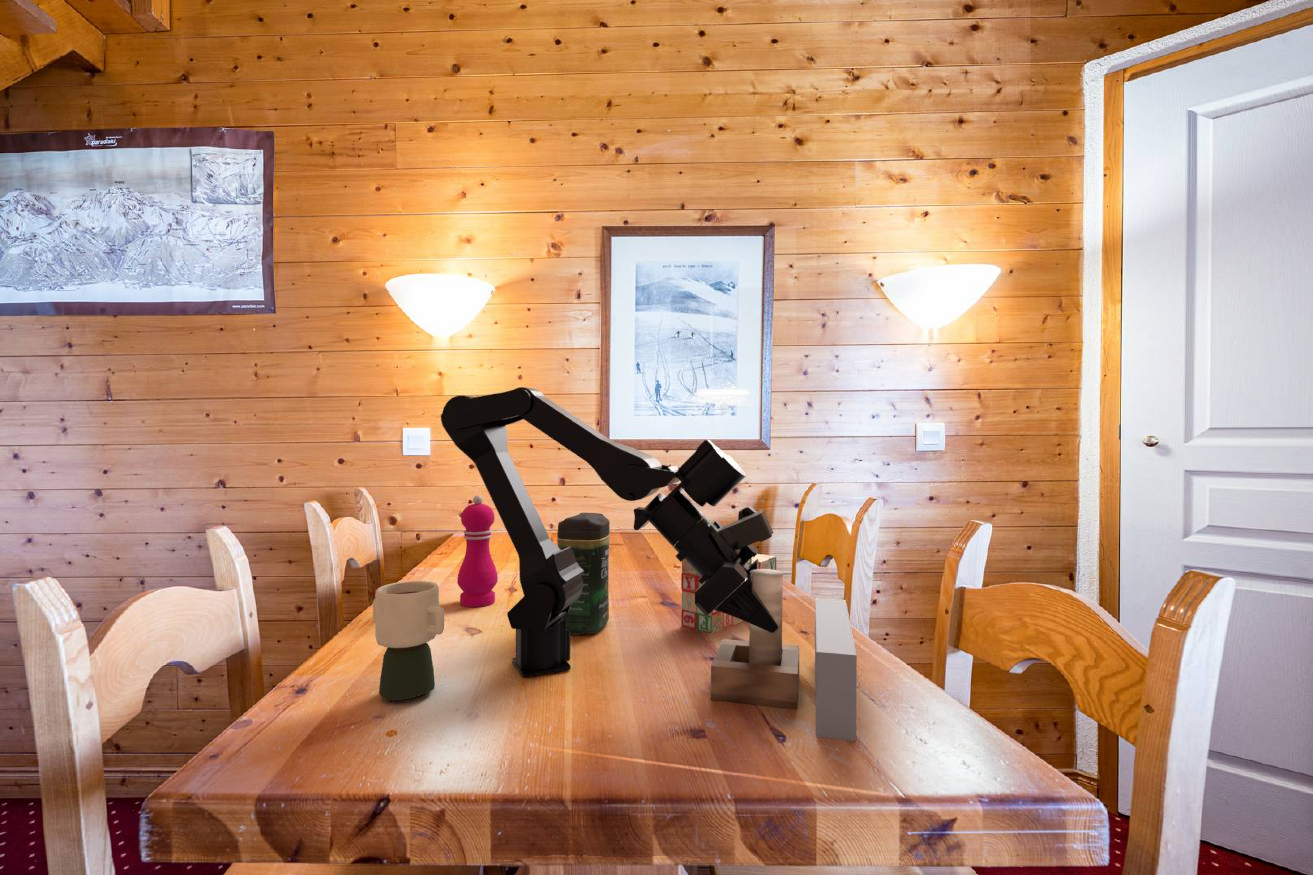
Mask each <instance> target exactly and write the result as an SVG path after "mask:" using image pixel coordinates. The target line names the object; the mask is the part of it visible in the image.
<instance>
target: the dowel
mask: <svg viewBox="0 0 1313 875" xmlns="http://www.w3.org/2000/svg"><path fill="white" fill-rule="evenodd" d="M751 572H753V589H754V591H755V593H756V594H757V595H758V597H759V598H760V600H761V601H762V603H763V604H764V605H765V607H766V608H767V610H768V611H769V612H770V614H771V615H772V617H773V618H774V620H775V621H776V623H777V624H778V626H779V627H778V629H777V630H776V631H775V632H774V633H771V632H769V631H766V630H764V629H762V628H759V627H757V626H755V625H753V624H750V623H748V624H749V626H748V627H749V628H748V629H749V630H748V632H749V634H748V637H749V638H748V641H749V663H752V664H763V665H773V666H781V660H782V644H783V598H784V597H783V596H784V594H783V593H784V572H782V571H781V570H777V569H776V570H771V569H755V570H752V571H750V573H751Z"/></svg>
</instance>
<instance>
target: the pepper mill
mask: <svg viewBox="0 0 1313 875" xmlns="http://www.w3.org/2000/svg"><path fill="white" fill-rule="evenodd" d="M472 501H473V504H469V505H467V506H466V507H465V508H464V509H463V510H462V512H461V515H460V522H461V524H462V526H463V527H464V529H465V530H463V533H464V536H463V538H464V539H465V542H466V547H465V553H464V554H465V555H464V558H463V560H462V562H461V566H460V567H459V570H458V574H457V582H456V583H457V585H458V587H459V588H460V590H461V591H462V592H461V593H460V595H459V604H460V606H462V607H467V608H482V607H487V606H491V605H492V604H494V603H495V602H496V592H495V591H494V590H493V589H494V588H495V586H496V585H497V584H498V580H499V577H498V571H497V568H496V565H495V563H494V560H493V558H492V555H491V552H490V539H491V538H492V537H493V536H492V532H493V530H492V529H491V527H492V526H493V525H494V522H495V512H494V510H493V508H492V507H491V506H489V505H487V504H485V503H483V502H484V498H483V496H481V495H479V494H477V495H475V496H474V497H473V499H472Z"/></svg>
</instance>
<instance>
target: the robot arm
mask: <svg viewBox="0 0 1313 875" xmlns="http://www.w3.org/2000/svg"><path fill="white" fill-rule="evenodd" d="M440 421H441V426H442V428H443V429H444V430H445V432H446V434H447V435H448V437H449V439H450V440H452V442H453V443H454V445H455V446H456V447H457V448H458V449H459V451H461V452H462V453H463V454H465V456H467V457H468V459H470V460H471V462H473V464H474V465H475V467H476V469H477V471H478V474H479V475H480V477H481V480H482V482H483V484H484V486H485V488H486V490H487V492H488V494H489V497H490V498H491V501H492V503H493V506H494V507H495V508H496V511H497V513H498V516H499V517H500V519H501V522H502V523H503V524H502V525H503V526H504V528H505V530H506V532H507V534H508V536H509V539H510V541H511V542H512V545H513V547H514V549H515V551H516V553H517V556H518V566H519V583H520V587H521V589H522V594H523V597H522V598H520V600H518V602H516V604H515V605H514V606H513V607H512V608H510V610H509V611H507V614H506V616H507V618H508V622H509V625H510V627H511V629H513V630H515V657H513V658H511V662H512V664H513V666H514V667H515V668H516V669H517V671H518V673H519V674H520V675H521V676H522V678H529V677H533V676H541V675H547V674H552V673H559V672H566V671H570V670H571V664H570V663H569V661H570V660H571V634H570V631H569V630H568V629H567V621H566V620H565V619H564V618H563V617H562V616H564V615H565V614H568V613H569V610H570V608H571V605H572V603H574V602H575V601H576V600H578V598H579V597H580V595H581V592H582V589H583V579H582V576H581V574H582V573H584V570H583V569H582V568H581V567H580V566H579V565H578V563H577V561H576V559H575V556H574V552H573V550H572V548H571V547H567V548H565V549H563V550H561V549H559V548H558V545H556V544H555V543H554V542H553V541H552V540H551V538H550V536H549V534H548V532H547V529H546V527H545V525H544V524H543V522H542V519H541V517H540V516H539V515H540V514H539V513H538V511H537V509H536V506H535V505H534V503H533V500H532V498H531V497H530V494H529V492H528V490H527V489H526V486H525V484H524V481H523V480H522V478H521V476H520V474H519V472H518V471H519V470H518V469H517V468H516V465H515V463H514V461H513V459H512V457H511V456H510V453H509V451H508V430H507V427H506V426H509V425H512V424H516V423H518V422H521V421H526V423H528V424H530V425H532V427H534V428H536V429H538V431H540V432H542V433H543V434H544V435H546V436H548V437H549V438H551V439H552V440H554V441H555V442H557V444H560V446H563V447H564V448H565V449H567V450H568V451H570V452H571V453H573V454H574V455H576V456H578V458H580V459H581V460H583V461H585V462H586V463H587V464H589V465H590V467H591V468H593V470H594V471H595V473H596V474H597V476H598V477H599V478H600V479H601V481H602V482H603V483H604V484H605V485H606V486H607V487H608V488H610V490H611V491H613V493H614V494H616V495H617V497H619V498H620V499H623V500H625V501H628V502H635V501H640V500H643V499H646V498H647V497H651V496H653V495H654V494H656V493H657V492H658V491H659V490H660V489H661V488H665V487H668V486H671V485H674V484H677V483H678V484H677V486H675V487H674V488H673V489H672V491H670V492H669V493H668V494H667V495H665V494H663V493H661V492H660V493H657V495H655V496H654V498H653V499H651V501H650V502H648V503H647V505H646V506H645V507H641V506H639V507H635V508H633V514H634V515H633V516H634V520H633V529H634V531H640V530H641V529H642V528H644V527H645V526H647V525H648V524H649V523H650V525H652V526H653V527H654V528H655V529H656V531H658V532H659V533H660V535H661V536H663V538H664V539H665V540H666V541H667V542H668V543H669V544H670V545H671V546H672V548H673V549H674V550H675V551H676V552H677V554H676V555H675V557H676V559H677V560H678V561H679V562H681V563H682V560H683V559H685V561H686V562H687V563H688V564H689V565H690V566H691V567H692V568H693V569H694V570H695V571H696V572H697V573H698V575H699V576H700V577H701V578H700V579H699V580H698V581H699V582H700V583H701V585H700V586H699V588H698V589H697V590H696V592H695V605H696V606H697V607H698V608H699V609H700V610H701V611H702V612H703V613H704V614H705V615H706V616H707V615H708V614H710V613H711V612H712V611H713V610H715V611H717V612H719V611H721V612H723V613H726V614H728V615H731V616H733V617H736V618H738V619H741V620H743V621H742V622H746V623H748V624H749V623H750V624H753V625H755V626H757V627H759V628H762V629H764V630H766V631H769V632H771V633H774V632H775V631H776V630H777V629H778V627H779V626H778V624H777V623H776V621H775V620H774V618H773V617H772V615H771V614H770V612H769V611H768V610H767V608H766V607H765V605H764V604H763V603H762V601H761V600H760V598H759V597H758V595H757V594H756V593H755V591H754V589H753V572H751V573H750V571H752V570H755V569H758V564H759V560H758V559H757V560H756V561H754V562H753V563H752V564H751V565H749V564H748V563H747V561H748V560H749V559H750V558H752V557H755V556H756V555H757V554H759V550H758V549H757V547H755V545H754V544H755V543H757V542H764V541H767V540H768V539H770V538H772V537H773V534H774V531H773V529H772V526H771V524H770V522H769V519H768V516H767V514H766V513H765V510H763V509H759V510H758V511H757V510H756V509H754V508H753V507H751V505H748V506H747V507H744V508H742V509H740V510H739V511H738V516H737V517H738V519H737V520H734V521H732V522H730V523H729V524H726V525H722V523H720V522H719V520H717V519H716V520H715V519H712V520H710V519H709V518H708V517H707V516H706V515H705V514H704V513H703V512H702V510H700V509H699V507H698V506H700V507H702V508H703V507H705V505H707V504H708V505H709V506H711V507H713V508H715V507H716V506H717V505H718V504H719V503H720V502H721V501H722V500H723V499H724V498H726V496H728V494H729V493H730V492H732V490H734V489H735V488H736V487H737V486H738V485H739V484H740V483H741V482H742V481H743V480H744V479H745V478H746V477H747V474H746V473H745V471H744V469H743V468H742V467H741V466H740V465H739V464H738V462H736V461H735V460H734V459H733V457H731V455H729V454H728V455H727V454H726V453H725V452H724V451H723V450H722V449H721V448H719V447H718V446H716V445H715V444H714V443H713V442H712V441H711V440H710V439H705V440H703V441H702V442H701V443H700V445H699V446H697V448H696V450H695V451H694V452H693V454H691V456H689V457H688V459H686V461H685V462H684V463H683V464H682V465H680V467H679V466H677V465H676V464H675V465H666V464H661V463H660V461H659V460H658V459H657V458H656V457H654V456H652V455H651V454H648V453H645V452H643V451H641V450H639V449H636V448H634V447H632V446H629V445H626V444H623V443H619V442H617V441H614V440H612V439H610V438H609V437H607V436H605V435H604V434H602V433H601V432H599V431H598V430H597V429H595V428H594V427H592V426H590V425H589V424H587V423H585V422H584V421H583V420H581V419H579V418H578V417H576V416H575V415H573V414H572V413H570V412H569V411H568V410H566V409H564V408H562V407H561V406H560V405H558V404H557V403H555V402H554V401H552V400H551V399H549V398H547V397H546V396H545V395H544V393H543V392H542V391H540V390H539V389H535V388H531V387H525V386H524V387H522V386H521V387H520V386H519V387H516V388H514V389H511V390H507V391H502V392H497V393H492V394H486V395H479V396H470V395H465V394H464V395H462V394H461V395H456V396H453V397H451V398H450V399H449V400H447V402H446V403H445V405H444V406H443V409H442V413H441V414H440ZM679 481H680V483H679ZM682 490H683V491H684V492H685V493H686V494H687V495H686V494H685V493H684V492H683V491H682ZM688 496H689V497H688ZM693 501H694V502H695V503H694V502H693ZM695 504H697V505H698V506H696V505H695Z"/></svg>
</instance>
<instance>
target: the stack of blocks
mask: <svg viewBox="0 0 1313 875" xmlns="http://www.w3.org/2000/svg"><path fill="white" fill-rule="evenodd" d="M757 559H758V560H759V564H758V569H771V570H777V556H775V555H770V554H763V553H762V554H761V553H757V555H756V556H755V557H752V558H750V559H749V560H748V561H747V563H748V564H749V565H751V564H752V563H753V562H754V561H756V560H757ZM700 578H701V577H700V576H699V575H698V573H697V572H696V571H695V570H694V569H693V568H692V567H691V566H690V565H689V564H688V563H687V562H686V561H685V559H683V560H682V561H681V578H680V579H681V580H680V581H681V582H680V583H681V584H680V585H681V586H680V587H681V589H680V590H681V612H680V613H681V619H680V620H681V621H680V622H681V624H680V625H681V627H683V628H687V629H690V630H695V631H699V632H704V633H705V632H706V633H712V634H713V633H718V632H720V631H722V630H725V629H728V628H730V627H732V626H735V625H737V624H740V623H741V622H744V621H743V620H741V619H738V618H736V617H733V616H731V615H728V614H726V613H723V612H721V611H719V612H717V611H715V610H713V611H712V612H711V613H710V614H708V615H707V616H706V615H705V614H704V613H703V612H702V611H701V610H700V609H699V608H698V607H697V606H696V605H695V592H696V590H697V589H698V588H699V586H700V585H701V583H700V582H699V581H698V580H699V579H700Z"/></svg>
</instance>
